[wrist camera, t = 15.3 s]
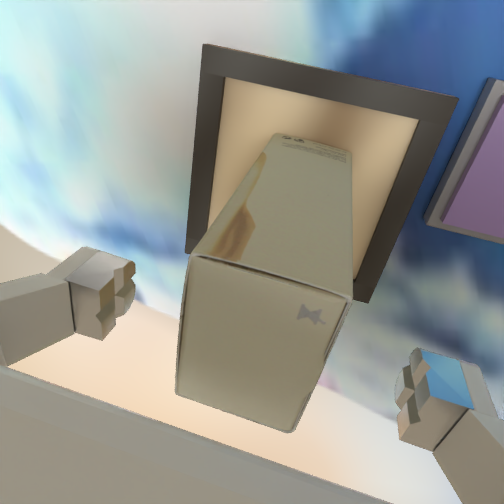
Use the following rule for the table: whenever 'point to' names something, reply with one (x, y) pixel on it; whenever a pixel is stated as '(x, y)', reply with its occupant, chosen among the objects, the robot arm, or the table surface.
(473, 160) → the pad
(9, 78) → the table surface
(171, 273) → the table surface
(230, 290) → the skincare box
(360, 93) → the framed board
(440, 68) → the table surface
